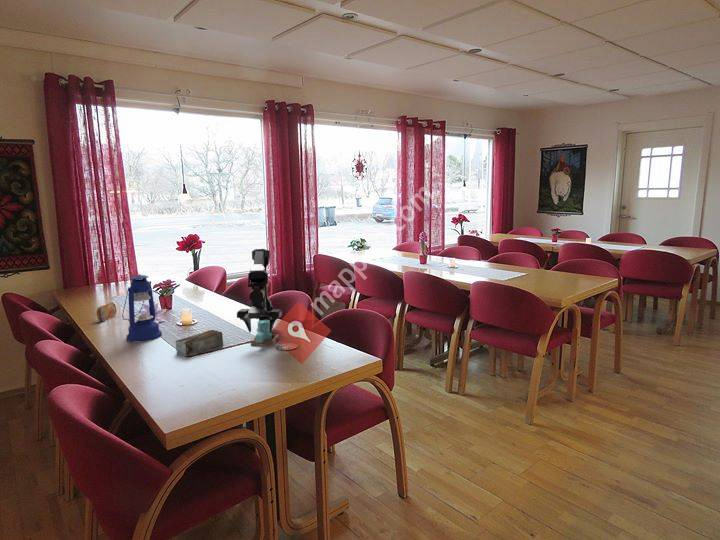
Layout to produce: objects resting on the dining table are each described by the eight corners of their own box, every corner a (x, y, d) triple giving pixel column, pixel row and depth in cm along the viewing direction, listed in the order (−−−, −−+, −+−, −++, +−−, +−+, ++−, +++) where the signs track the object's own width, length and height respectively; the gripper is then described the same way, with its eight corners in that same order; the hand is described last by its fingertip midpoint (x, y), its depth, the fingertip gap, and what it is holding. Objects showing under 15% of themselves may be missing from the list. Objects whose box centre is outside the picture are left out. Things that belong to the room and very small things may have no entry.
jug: (260, 339, 213) (259, 319, 211) (273, 339, 212) (272, 319, 211) (252, 348, 201) (251, 327, 199) (265, 348, 200) (264, 327, 198)
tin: (102, 322, 243) (100, 307, 242) (96, 322, 243) (94, 307, 242) (117, 315, 258) (116, 300, 256) (112, 315, 258) (110, 300, 257)
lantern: (146, 343, 209) (141, 278, 204) (117, 341, 212) (111, 277, 207) (169, 332, 225) (164, 272, 220) (142, 330, 228) (136, 271, 224)
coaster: (279, 343, 206) (279, 342, 206) (299, 344, 206) (299, 343, 205) (274, 350, 197) (274, 349, 197) (295, 351, 197) (295, 350, 197)
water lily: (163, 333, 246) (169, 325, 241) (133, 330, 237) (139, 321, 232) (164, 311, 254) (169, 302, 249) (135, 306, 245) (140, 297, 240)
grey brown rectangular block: (175, 353, 196) (174, 338, 194) (213, 342, 211) (212, 328, 210) (186, 357, 191) (185, 342, 190) (224, 345, 206) (223, 331, 205)
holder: (257, 338, 215) (257, 334, 214) (278, 338, 214) (278, 334, 214) (251, 345, 205) (250, 340, 205) (272, 345, 204) (272, 341, 204)
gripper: (231, 302, 192) (233, 337, 195) (274, 302, 191) (276, 338, 193) (240, 296, 203) (242, 330, 206) (281, 296, 202) (282, 330, 204)
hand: (260, 332), depth 202 cm, fingers open, 9 cm apart
